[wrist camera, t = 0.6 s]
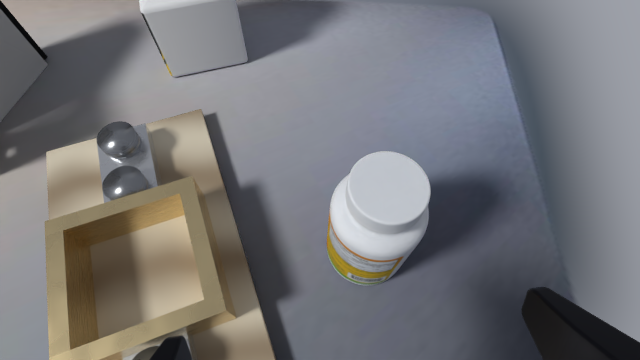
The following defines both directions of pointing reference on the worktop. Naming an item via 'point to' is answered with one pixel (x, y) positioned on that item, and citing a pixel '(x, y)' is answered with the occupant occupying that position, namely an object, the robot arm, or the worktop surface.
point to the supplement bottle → (377, 217)
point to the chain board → (164, 243)
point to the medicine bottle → (195, 33)
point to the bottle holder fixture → (116, 220)
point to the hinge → (16, 61)
